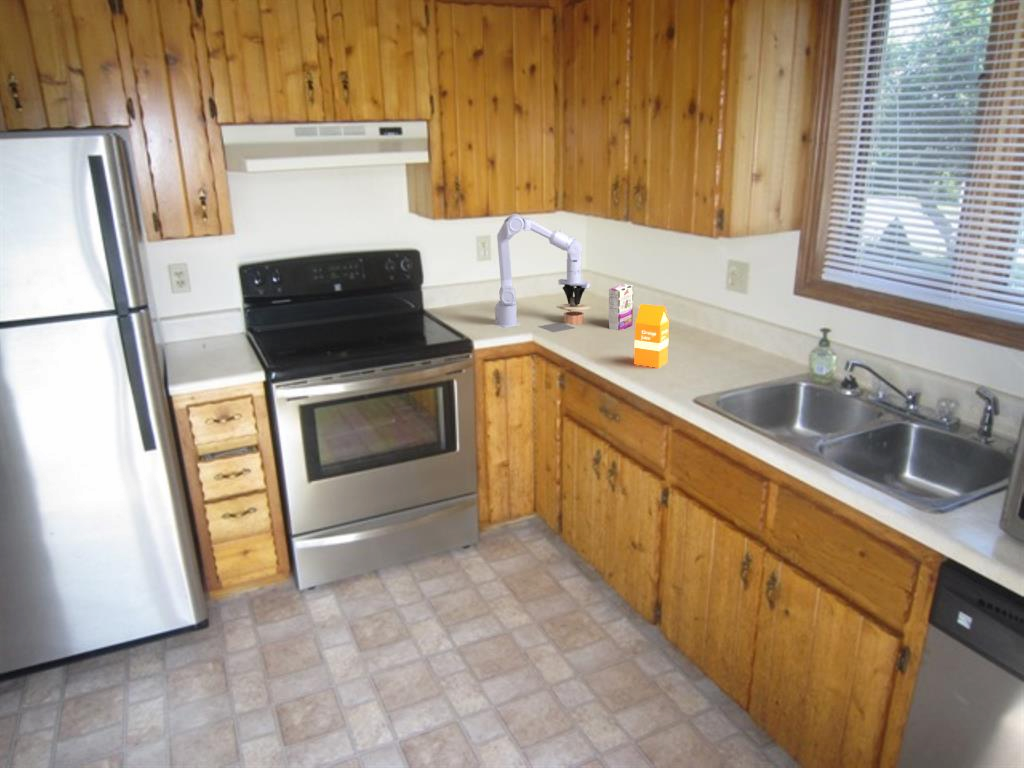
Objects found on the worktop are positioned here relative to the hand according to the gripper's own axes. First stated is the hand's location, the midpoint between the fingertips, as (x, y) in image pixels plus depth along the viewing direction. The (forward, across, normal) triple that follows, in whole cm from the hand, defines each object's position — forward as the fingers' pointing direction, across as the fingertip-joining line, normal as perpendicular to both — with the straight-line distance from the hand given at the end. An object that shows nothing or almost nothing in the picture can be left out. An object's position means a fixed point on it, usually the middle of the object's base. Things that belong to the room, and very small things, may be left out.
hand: (573, 303), depth 300 cm
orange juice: (+8, -54, +28) cm, 62 cm away
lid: (+2, 0, 0) cm, 2 cm away
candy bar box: (+8, -19, -5) cm, 22 cm away
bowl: (+8, 0, 0) cm, 8 cm away
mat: (+8, 0, +11) cm, 13 cm away
